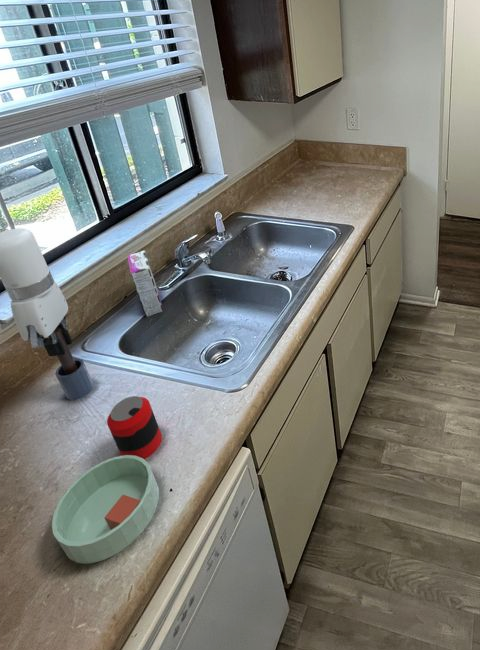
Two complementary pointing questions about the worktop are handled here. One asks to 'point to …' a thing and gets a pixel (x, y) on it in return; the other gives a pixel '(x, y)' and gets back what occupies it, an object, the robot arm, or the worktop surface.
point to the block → (121, 511)
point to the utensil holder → (75, 381)
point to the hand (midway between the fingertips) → (61, 348)
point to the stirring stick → (65, 355)
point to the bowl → (104, 509)
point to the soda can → (134, 427)
